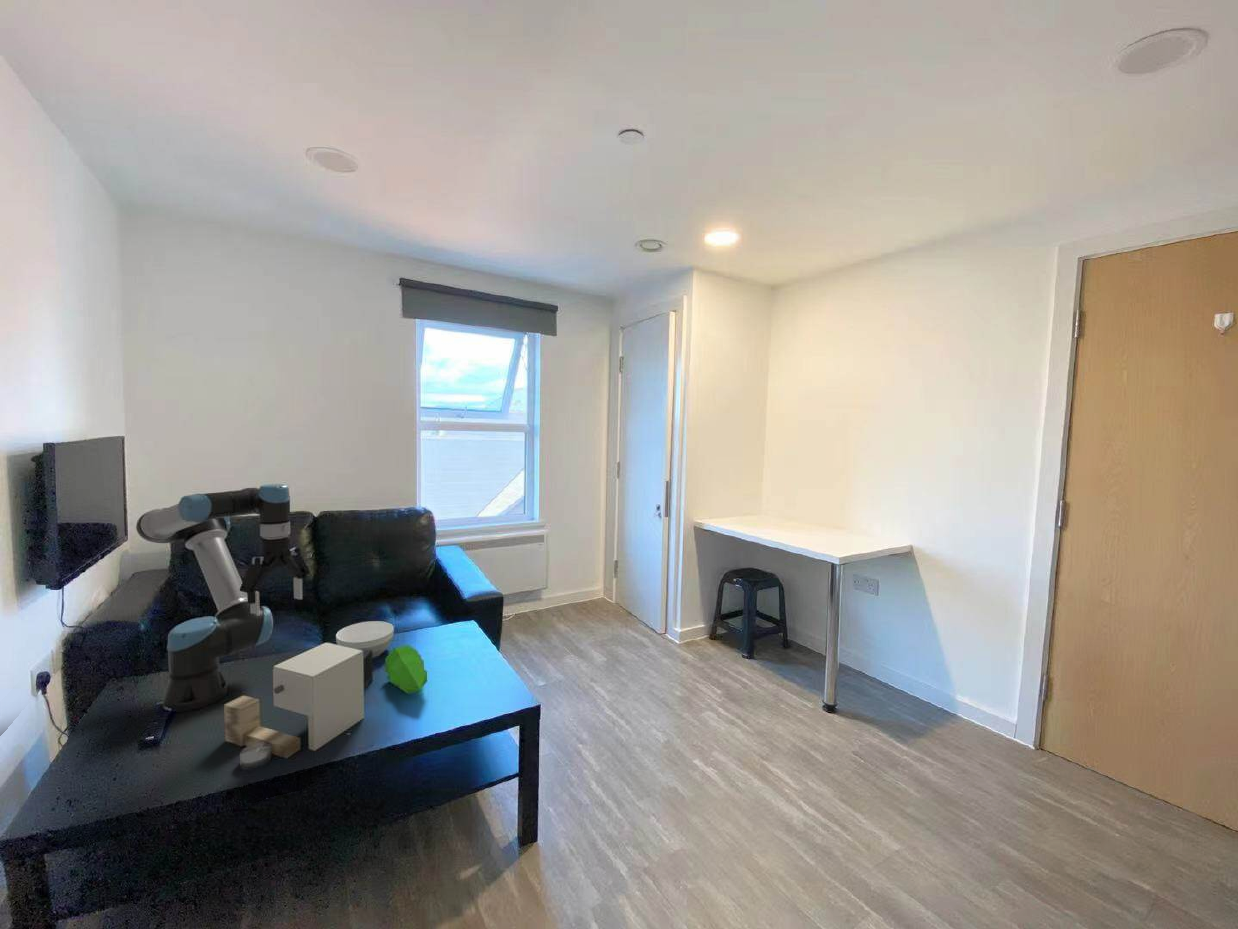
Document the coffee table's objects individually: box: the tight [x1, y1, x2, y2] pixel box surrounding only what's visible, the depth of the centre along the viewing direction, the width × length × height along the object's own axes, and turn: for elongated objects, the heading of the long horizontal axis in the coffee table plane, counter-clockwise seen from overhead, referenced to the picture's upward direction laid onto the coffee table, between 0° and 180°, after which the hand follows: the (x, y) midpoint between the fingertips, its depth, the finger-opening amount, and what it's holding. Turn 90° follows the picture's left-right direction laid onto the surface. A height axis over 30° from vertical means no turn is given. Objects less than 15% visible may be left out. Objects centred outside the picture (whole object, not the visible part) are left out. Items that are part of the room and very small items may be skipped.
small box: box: [362, 650, 374, 690], centre depth 166 cm, size 11×6×10 cm, turn 92°
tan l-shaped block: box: [223, 695, 302, 759], centre depth 135 cm, size 21×5×10 cm, turn 71°
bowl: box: [335, 620, 394, 659], centre depth 187 cm, size 19×19×9 cm
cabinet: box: [272, 642, 365, 752], centre depth 141 cm, size 14×18×20 cm
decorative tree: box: [384, 644, 428, 695], centre depth 165 cm, size 11×12×30 cm
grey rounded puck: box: [239, 742, 272, 770], centre depth 129 cm, size 6×6×3 cm
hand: (277, 605), depth 156 cm, fingers open, 13 cm apart
